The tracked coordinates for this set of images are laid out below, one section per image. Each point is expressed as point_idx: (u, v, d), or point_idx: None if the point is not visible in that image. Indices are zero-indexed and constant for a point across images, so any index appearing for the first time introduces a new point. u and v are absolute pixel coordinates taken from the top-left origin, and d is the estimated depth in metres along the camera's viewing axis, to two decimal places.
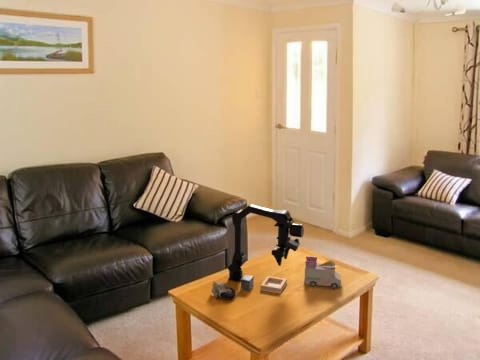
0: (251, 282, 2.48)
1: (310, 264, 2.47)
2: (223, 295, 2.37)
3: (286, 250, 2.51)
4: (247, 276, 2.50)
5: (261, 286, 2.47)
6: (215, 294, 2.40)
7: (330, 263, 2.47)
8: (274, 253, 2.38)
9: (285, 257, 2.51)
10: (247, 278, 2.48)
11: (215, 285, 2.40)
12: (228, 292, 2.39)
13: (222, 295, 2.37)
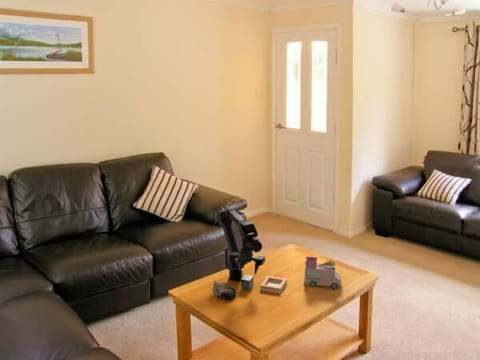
0: (251, 282, 2.48)
1: (310, 264, 2.47)
2: (223, 295, 2.37)
3: None
4: (247, 276, 2.50)
5: (261, 286, 2.47)
6: (215, 294, 2.40)
7: (330, 263, 2.47)
8: None
9: None
10: (247, 278, 2.48)
11: (216, 285, 2.41)
12: (228, 292, 2.39)
13: (222, 295, 2.37)
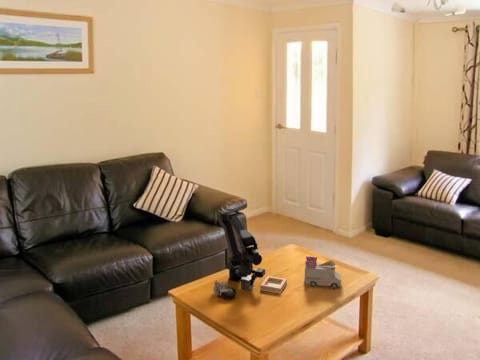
0: None
1: (310, 264, 2.47)
2: (224, 294, 2.37)
3: None
4: (247, 276, 2.50)
5: (261, 286, 2.47)
6: (216, 293, 2.41)
7: (330, 263, 2.47)
8: None
9: None
10: (247, 277, 2.48)
11: (216, 284, 2.41)
12: (229, 292, 2.39)
13: (223, 294, 2.38)
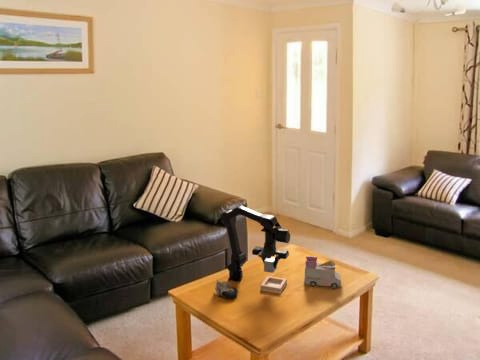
0: (274, 264, 2.46)
1: (310, 264, 2.47)
2: (224, 294, 2.38)
3: None
4: (270, 258, 2.48)
5: (261, 286, 2.47)
6: (217, 292, 2.42)
7: (330, 263, 2.47)
8: None
9: None
10: (270, 259, 2.46)
11: (218, 283, 2.42)
12: (230, 291, 2.39)
13: (223, 294, 2.38)
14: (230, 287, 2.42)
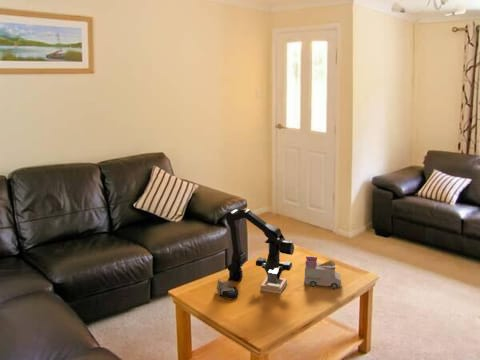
0: None
1: (310, 264, 2.47)
2: (225, 294, 2.38)
3: None
4: None
5: (261, 286, 2.47)
6: (218, 292, 2.42)
7: (330, 263, 2.47)
8: None
9: None
10: (274, 270, 2.48)
11: (219, 283, 2.43)
12: (230, 291, 2.40)
13: (224, 293, 2.38)
14: (231, 287, 2.42)
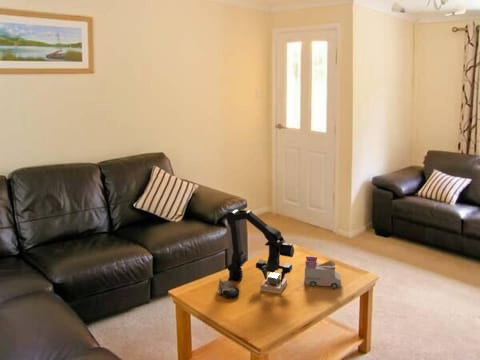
0: (278, 280, 2.49)
1: (310, 264, 2.47)
2: (225, 293, 2.38)
3: None
4: (273, 274, 2.51)
5: (261, 286, 2.47)
6: (219, 291, 2.43)
7: (330, 263, 2.47)
8: None
9: None
10: (274, 275, 2.49)
11: (220, 282, 2.43)
12: (231, 291, 2.40)
13: (224, 293, 2.39)
14: (232, 287, 2.42)
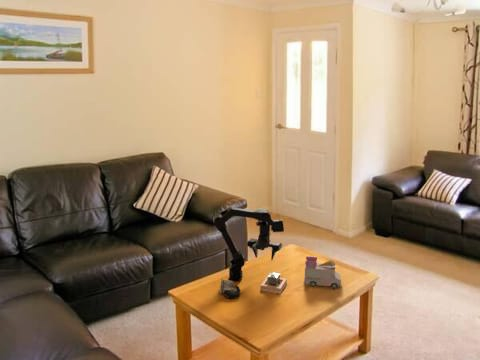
0: (278, 280, 2.49)
1: (310, 264, 2.47)
2: (226, 293, 2.39)
3: None
4: (273, 274, 2.51)
5: (261, 286, 2.47)
6: (221, 290, 2.44)
7: (330, 263, 2.47)
8: None
9: None
10: (274, 275, 2.49)
11: (222, 282, 2.44)
12: (232, 291, 2.40)
13: (225, 293, 2.40)
14: (233, 286, 2.43)
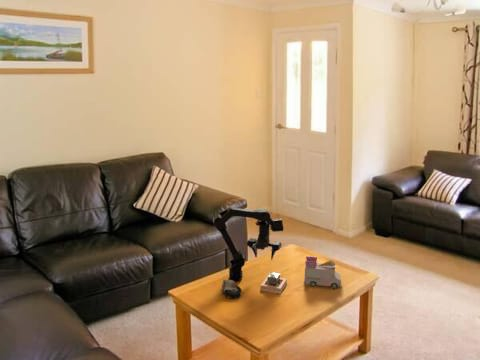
0: (278, 280, 2.49)
1: (310, 264, 2.47)
2: (226, 292, 2.39)
3: None
4: (273, 274, 2.51)
5: (261, 286, 2.47)
6: (222, 290, 2.44)
7: (330, 263, 2.47)
8: None
9: None
10: (274, 275, 2.49)
11: (223, 281, 2.45)
12: (233, 290, 2.40)
13: (226, 292, 2.40)
14: (234, 286, 2.43)
